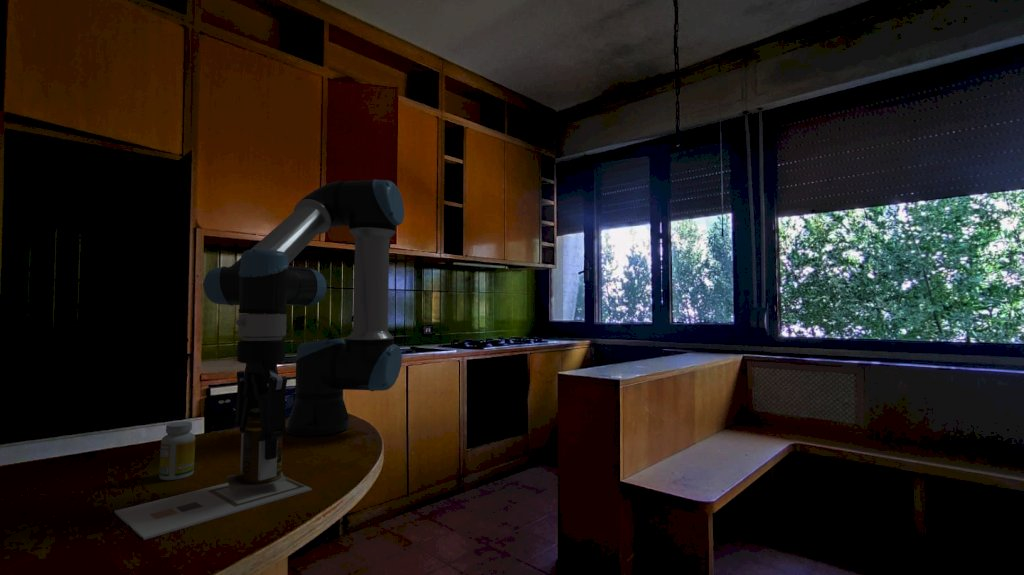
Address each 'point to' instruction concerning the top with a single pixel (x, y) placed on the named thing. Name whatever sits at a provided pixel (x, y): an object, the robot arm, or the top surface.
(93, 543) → the top surface
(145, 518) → the sheet
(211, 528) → the top surface
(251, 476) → the condiment
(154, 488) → the top surface
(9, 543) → the top surface
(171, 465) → the supplement bottle
